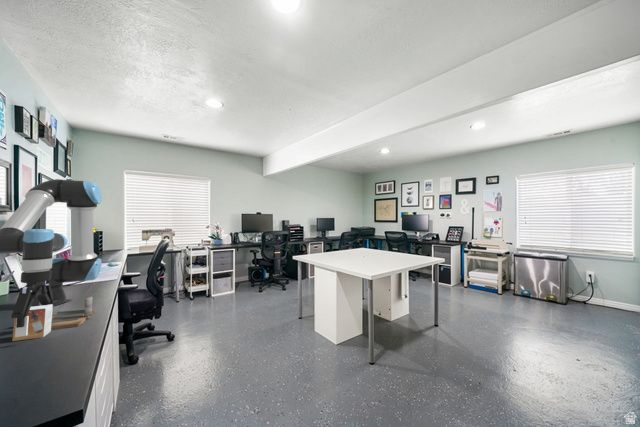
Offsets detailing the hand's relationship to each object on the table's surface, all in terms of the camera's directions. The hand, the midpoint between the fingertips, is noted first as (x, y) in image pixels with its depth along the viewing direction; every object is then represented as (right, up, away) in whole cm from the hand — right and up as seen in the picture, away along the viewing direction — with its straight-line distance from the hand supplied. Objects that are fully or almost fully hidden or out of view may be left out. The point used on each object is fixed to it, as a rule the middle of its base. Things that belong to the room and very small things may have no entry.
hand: (33, 328), depth 92 cm
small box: (0, -3, 0) cm, 3 cm away
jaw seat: (-2, -3, +14) cm, 15 cm away
